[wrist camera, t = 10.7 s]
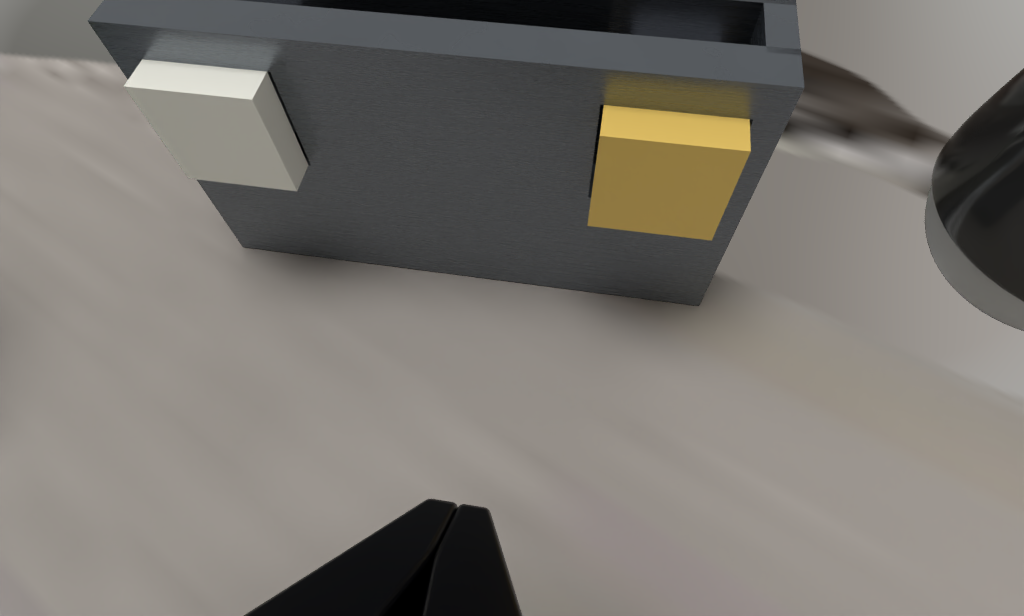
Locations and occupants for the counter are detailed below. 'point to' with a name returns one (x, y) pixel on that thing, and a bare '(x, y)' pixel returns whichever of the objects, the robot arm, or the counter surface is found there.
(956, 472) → the counter surface
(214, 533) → the counter surface
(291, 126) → the ivory button
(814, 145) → the counter surface
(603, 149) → the amber button
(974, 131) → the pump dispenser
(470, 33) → the button panel
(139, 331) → the counter surface
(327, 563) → the robot arm
